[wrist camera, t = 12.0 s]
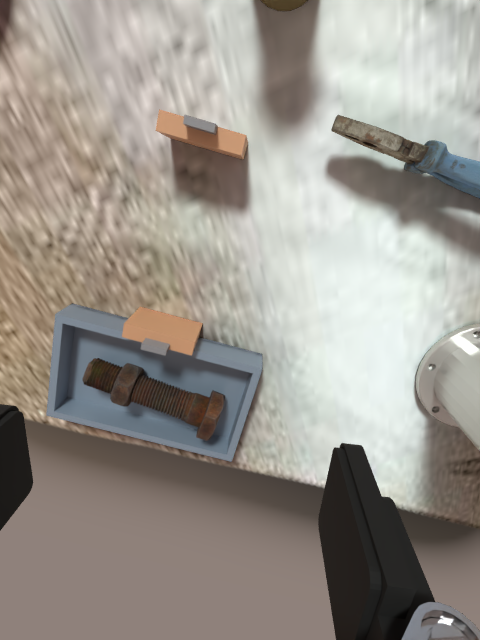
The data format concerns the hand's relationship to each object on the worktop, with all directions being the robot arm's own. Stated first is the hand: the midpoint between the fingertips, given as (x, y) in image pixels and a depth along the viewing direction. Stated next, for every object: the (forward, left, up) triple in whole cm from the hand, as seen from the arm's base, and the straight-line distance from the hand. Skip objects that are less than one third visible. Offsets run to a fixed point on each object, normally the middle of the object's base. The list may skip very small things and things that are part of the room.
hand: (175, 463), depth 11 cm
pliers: (-15, -14, -28) cm, 35 cm away
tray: (+5, +15, -28) cm, 32 cm away
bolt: (+5, +15, -28) cm, 32 cm away
